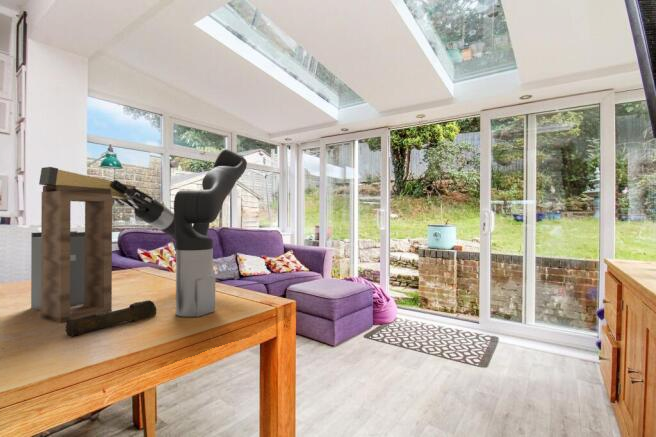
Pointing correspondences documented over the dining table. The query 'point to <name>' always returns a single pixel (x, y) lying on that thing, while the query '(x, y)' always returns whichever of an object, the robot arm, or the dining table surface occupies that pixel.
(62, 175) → the rod
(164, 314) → the dining table surface
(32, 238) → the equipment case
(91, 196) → the brown tall rectangular frame
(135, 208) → the robot arm
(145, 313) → the hand tool
